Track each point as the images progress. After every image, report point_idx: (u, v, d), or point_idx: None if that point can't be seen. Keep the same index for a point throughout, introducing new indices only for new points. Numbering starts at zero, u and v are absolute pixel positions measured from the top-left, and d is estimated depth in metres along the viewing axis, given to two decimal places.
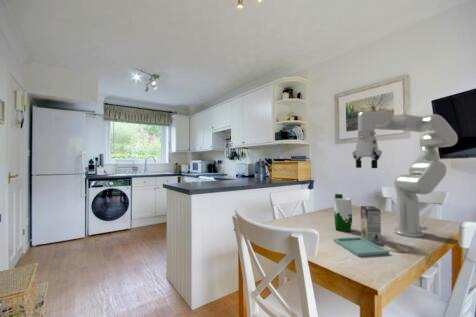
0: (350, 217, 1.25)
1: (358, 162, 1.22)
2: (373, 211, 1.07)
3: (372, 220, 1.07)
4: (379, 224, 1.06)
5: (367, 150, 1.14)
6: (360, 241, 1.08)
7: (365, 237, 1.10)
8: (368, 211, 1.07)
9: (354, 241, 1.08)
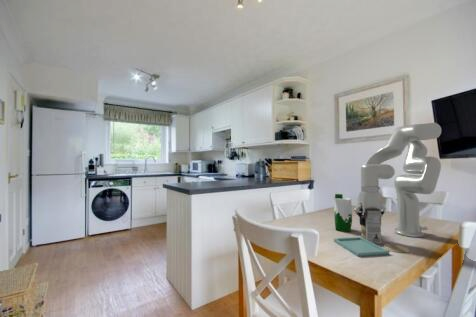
0: (350, 217, 1.25)
1: None
2: (373, 211, 1.07)
3: (372, 220, 1.07)
4: (379, 224, 1.06)
5: (378, 206, 1.10)
6: (360, 241, 1.08)
7: (365, 237, 1.10)
8: (368, 211, 1.07)
9: (354, 241, 1.08)
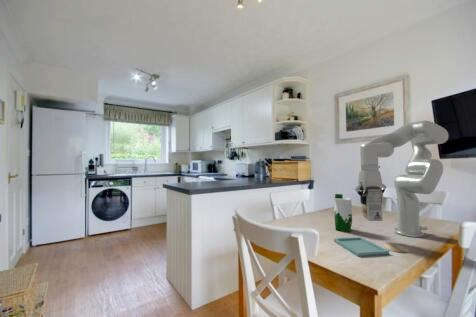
0: (350, 217, 1.25)
1: None
2: (373, 189, 1.07)
3: (372, 199, 1.07)
4: (380, 202, 1.07)
5: (379, 184, 1.10)
6: (360, 241, 1.08)
7: (366, 216, 1.10)
8: (369, 189, 1.08)
9: (354, 241, 1.08)
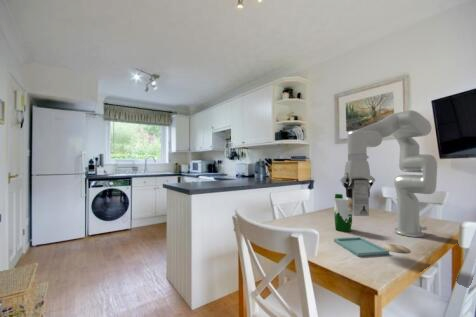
0: (350, 217, 1.25)
1: None
2: (360, 181, 0.97)
3: (359, 191, 0.97)
4: (367, 195, 0.96)
5: (366, 176, 0.99)
6: (360, 241, 1.08)
7: (352, 210, 0.99)
8: (355, 181, 0.97)
9: (354, 241, 1.08)
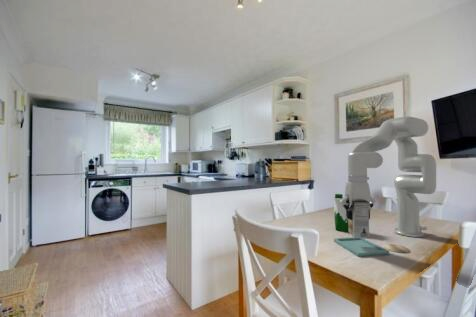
0: None
1: None
2: (361, 203, 0.96)
3: (359, 213, 0.96)
4: (367, 218, 0.96)
5: (367, 198, 0.99)
6: (360, 241, 1.08)
7: (352, 232, 0.99)
8: (355, 203, 0.97)
9: (354, 241, 1.08)
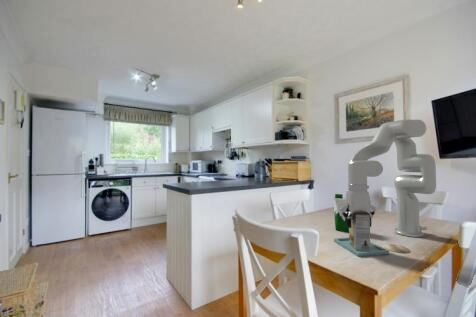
0: None
1: None
2: (362, 215, 0.96)
3: (360, 226, 0.96)
4: (369, 230, 0.96)
5: (367, 207, 0.99)
6: None
7: (353, 244, 0.99)
8: (356, 215, 0.97)
9: None
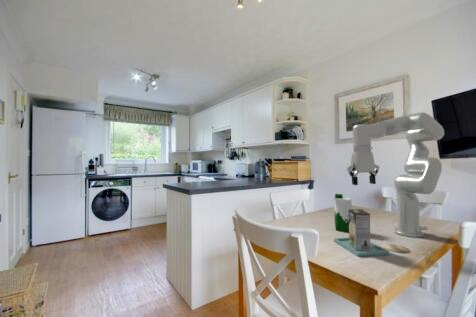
0: None
1: None
2: (362, 215, 0.96)
3: (360, 226, 0.96)
4: (369, 230, 0.96)
5: (371, 165, 1.09)
6: None
7: (353, 244, 0.99)
8: (356, 215, 0.97)
9: None
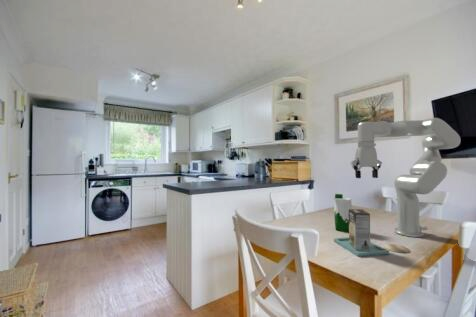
0: None
1: None
2: (362, 215, 0.96)
3: (360, 226, 0.96)
4: (369, 230, 0.96)
5: (374, 160, 1.16)
6: None
7: (353, 244, 0.99)
8: (356, 215, 0.97)
9: None
